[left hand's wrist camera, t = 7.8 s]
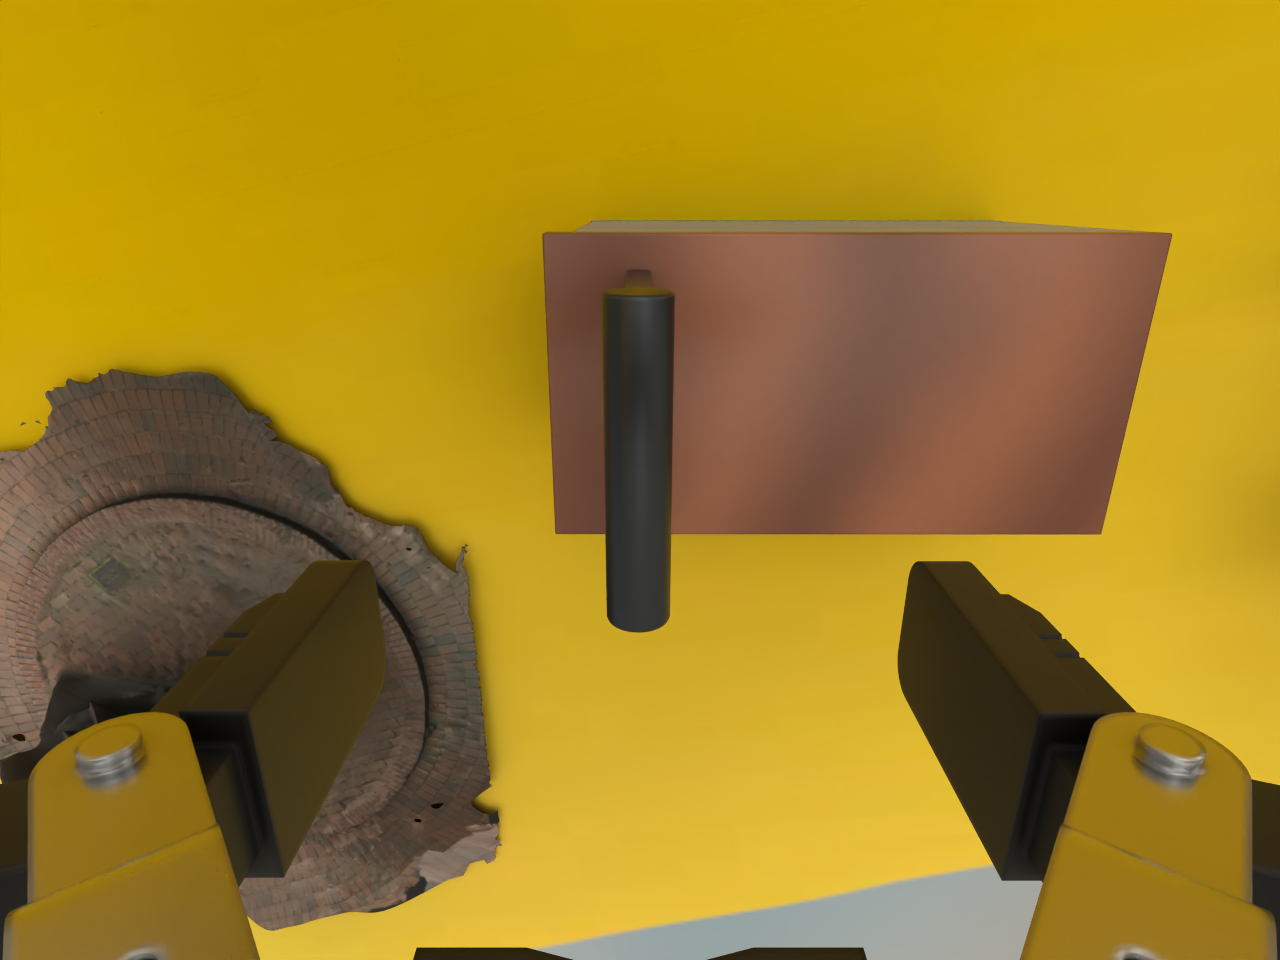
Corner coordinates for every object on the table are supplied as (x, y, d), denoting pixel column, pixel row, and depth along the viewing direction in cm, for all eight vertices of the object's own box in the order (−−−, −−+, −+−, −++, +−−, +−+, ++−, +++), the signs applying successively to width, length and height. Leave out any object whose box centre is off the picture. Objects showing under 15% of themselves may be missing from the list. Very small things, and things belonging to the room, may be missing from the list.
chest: (596, 431, 36) (578, 523, 26) (591, 220, 33) (569, 231, 23) (961, 432, 36) (1085, 523, 26) (994, 220, 33) (1152, 231, 23)
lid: (558, 523, 26) (522, 664, 18) (545, 231, 23) (495, 250, 15) (1086, 523, 26) (1278, 665, 18) (1153, 231, 23) (1426, 250, 15)
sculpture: (606, 472, 37) (584, 659, 22) (470, 960, 49) (395, 1296, 34) (-105, 287, 34) (-695, 358, 19) (-65, 856, 46) (-407, 1177, 31)
